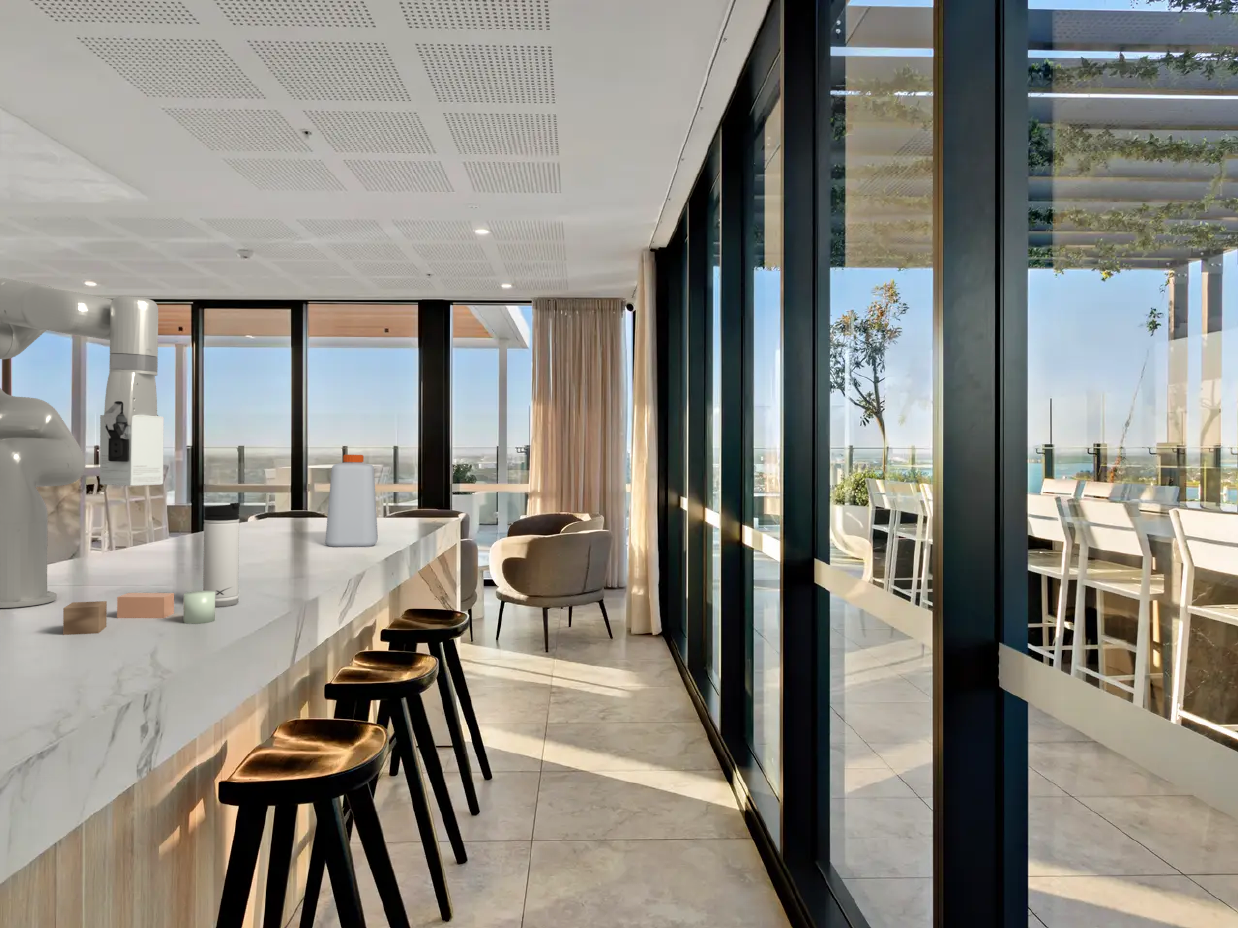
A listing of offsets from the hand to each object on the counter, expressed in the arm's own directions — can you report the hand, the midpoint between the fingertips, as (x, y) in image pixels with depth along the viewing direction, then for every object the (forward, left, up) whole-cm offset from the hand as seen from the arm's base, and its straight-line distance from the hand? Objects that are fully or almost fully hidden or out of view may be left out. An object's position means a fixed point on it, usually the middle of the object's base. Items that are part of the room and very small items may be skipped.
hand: (132, 460), depth 150 cm
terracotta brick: (+3, -1, -28) cm, 28 cm away
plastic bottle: (+14, +106, -28) cm, 111 cm away
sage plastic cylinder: (+14, -5, -28) cm, 32 cm away
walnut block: (-1, -13, -28) cm, 31 cm away
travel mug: (+12, +10, -28) cm, 32 cm away
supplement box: (0, 0, -5) cm, 5 cm away
